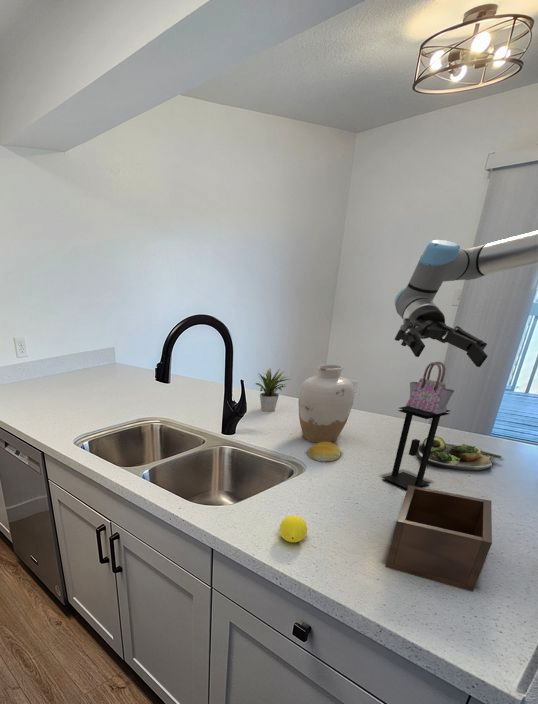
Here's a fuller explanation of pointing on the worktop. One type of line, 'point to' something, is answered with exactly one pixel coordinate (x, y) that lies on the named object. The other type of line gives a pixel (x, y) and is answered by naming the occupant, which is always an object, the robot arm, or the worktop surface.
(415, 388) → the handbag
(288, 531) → the lemon
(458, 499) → the open brown wooden box
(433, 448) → the salad plate
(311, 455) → the bread roll
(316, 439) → the vase
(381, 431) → the worktop surface
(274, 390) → the house plant
